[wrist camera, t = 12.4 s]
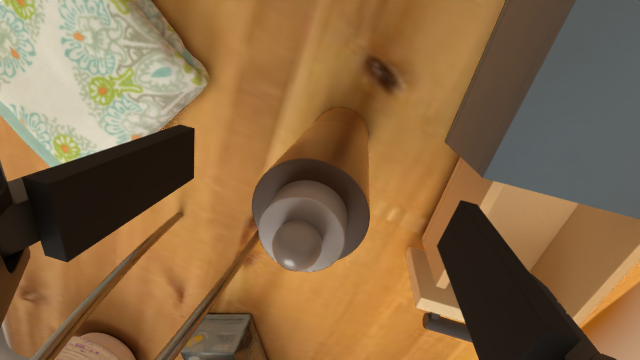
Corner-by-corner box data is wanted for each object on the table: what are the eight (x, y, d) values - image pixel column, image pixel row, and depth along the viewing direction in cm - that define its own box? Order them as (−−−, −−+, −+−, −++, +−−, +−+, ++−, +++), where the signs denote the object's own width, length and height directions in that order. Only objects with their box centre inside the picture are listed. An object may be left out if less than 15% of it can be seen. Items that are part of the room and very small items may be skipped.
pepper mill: (319, 101, 24) (221, 170, 8) (375, 115, 24) (393, 218, 8) (308, 153, 26) (213, 294, 10) (359, 167, 26) (346, 335, 10)
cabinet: (599, 182, 23) (718, 240, 15) (444, 142, 24) (482, 178, 16) (775, -58, 16) (1153, -173, 8) (550, -103, 17) (705, -246, 9)
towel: (33, -158, 20) (-66, -226, 16) (221, 81, 25) (188, 84, 20) (-42, 14, 27) (-128, 3, 22) (119, 179, 31) (76, 198, 27)
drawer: (502, 316, 29) (539, 384, 23) (391, 284, 30) (398, 341, 24) (627, 147, 21) (737, 180, 15) (471, 108, 22) (512, 124, 16)
